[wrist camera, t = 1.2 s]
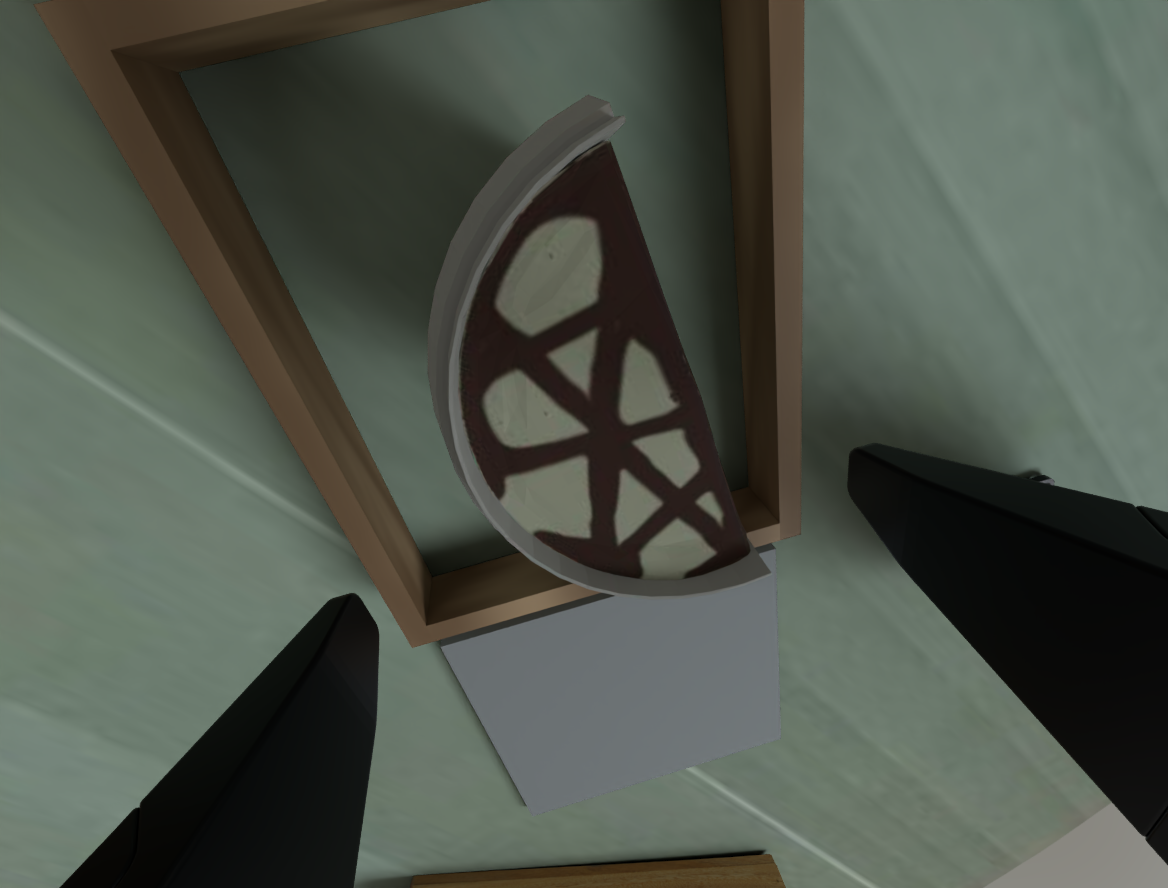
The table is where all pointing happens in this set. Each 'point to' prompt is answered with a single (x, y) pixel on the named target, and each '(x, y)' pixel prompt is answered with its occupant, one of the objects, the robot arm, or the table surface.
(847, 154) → the table surface
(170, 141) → the walnut frame
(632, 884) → the tray
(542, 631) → the slate mat
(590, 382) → the food container
